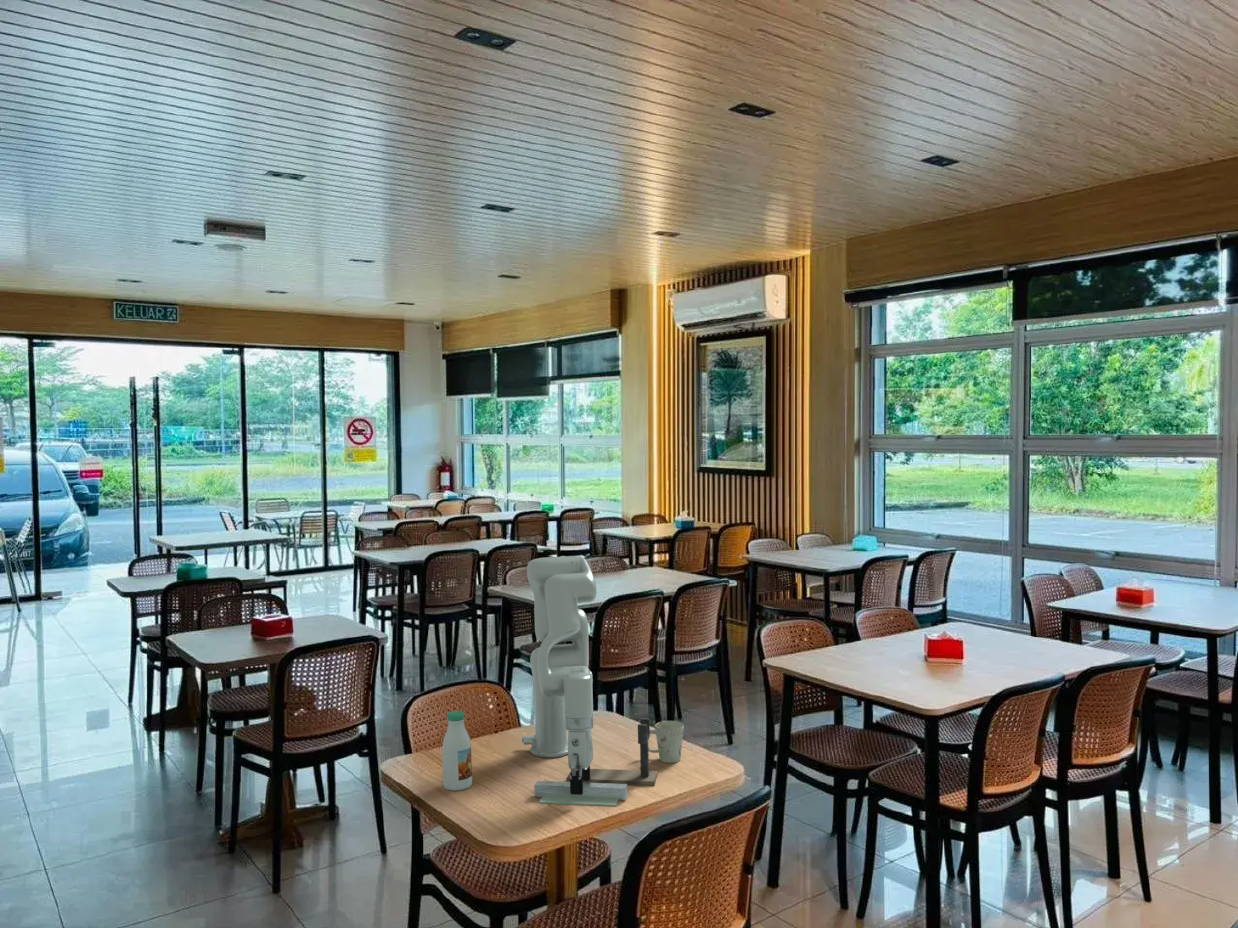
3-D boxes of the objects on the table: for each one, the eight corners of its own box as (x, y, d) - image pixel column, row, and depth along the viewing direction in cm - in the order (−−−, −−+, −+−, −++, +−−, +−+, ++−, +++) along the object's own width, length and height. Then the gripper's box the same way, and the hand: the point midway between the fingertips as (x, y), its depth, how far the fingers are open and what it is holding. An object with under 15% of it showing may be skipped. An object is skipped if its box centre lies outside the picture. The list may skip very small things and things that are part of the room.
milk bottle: (448, 793, 243) (446, 718, 243) (439, 784, 250) (437, 711, 250) (476, 787, 247) (474, 714, 246) (467, 778, 254) (465, 707, 253)
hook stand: (566, 782, 249) (564, 724, 248) (572, 772, 257) (571, 715, 256) (654, 785, 245) (652, 726, 245) (657, 775, 253) (656, 717, 252)
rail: (534, 796, 239) (534, 784, 238) (537, 791, 241) (537, 780, 241) (625, 799, 235) (625, 788, 235) (627, 795, 238) (627, 783, 238)
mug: (682, 764, 260) (681, 730, 260) (639, 762, 263) (638, 728, 263) (686, 755, 268) (685, 721, 268) (644, 753, 271) (643, 719, 271)
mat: (539, 803, 235) (539, 801, 235) (547, 789, 244) (547, 788, 244) (616, 805, 232) (615, 804, 232) (621, 792, 241) (621, 791, 241)
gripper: (586, 732, 228) (588, 800, 229) (599, 712, 245) (600, 775, 246) (557, 731, 230) (559, 799, 230) (571, 711, 247) (573, 774, 247)
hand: (580, 786), depth 238 cm, fingers open, 9 cm apart
